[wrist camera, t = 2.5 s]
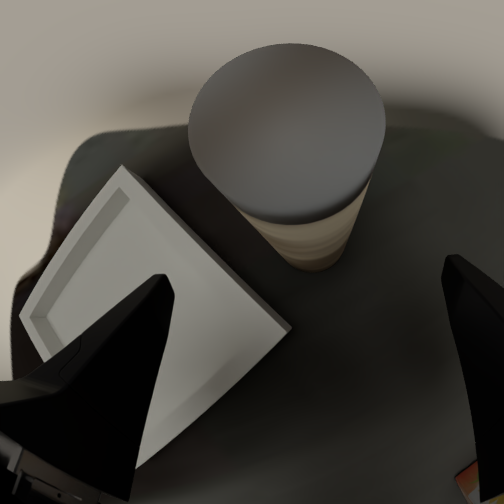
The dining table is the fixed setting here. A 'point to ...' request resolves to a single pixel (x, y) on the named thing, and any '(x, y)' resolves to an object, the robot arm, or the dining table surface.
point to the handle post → (291, 145)
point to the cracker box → (473, 486)
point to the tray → (184, 310)
